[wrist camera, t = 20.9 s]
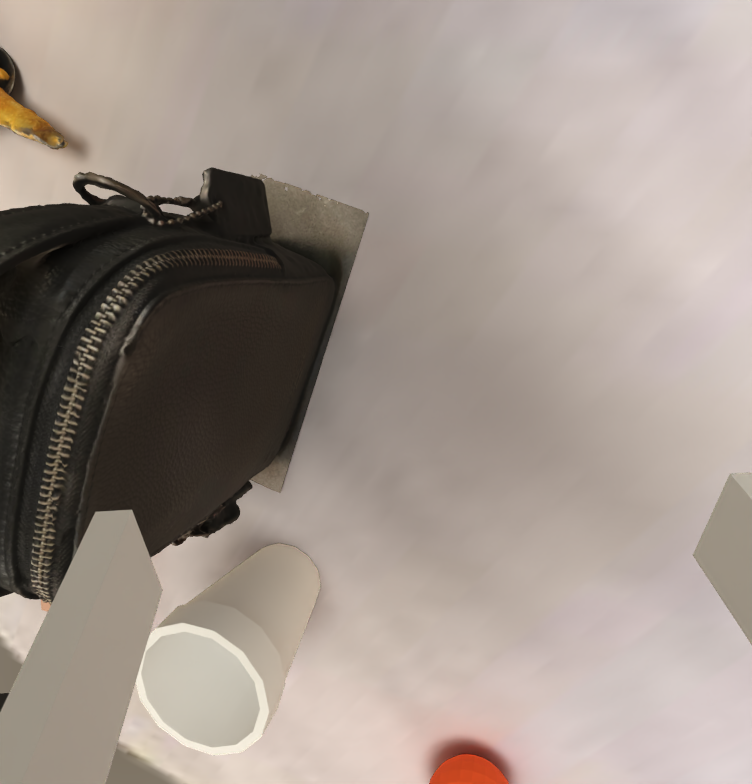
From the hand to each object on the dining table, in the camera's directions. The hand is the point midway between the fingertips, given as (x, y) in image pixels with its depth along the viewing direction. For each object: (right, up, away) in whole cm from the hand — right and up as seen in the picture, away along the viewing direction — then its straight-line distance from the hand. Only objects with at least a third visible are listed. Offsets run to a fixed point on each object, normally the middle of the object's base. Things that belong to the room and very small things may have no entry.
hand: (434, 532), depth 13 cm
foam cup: (-9, -12, +34) cm, 37 cm away
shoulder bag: (-9, +7, +30) cm, 32 cm away
